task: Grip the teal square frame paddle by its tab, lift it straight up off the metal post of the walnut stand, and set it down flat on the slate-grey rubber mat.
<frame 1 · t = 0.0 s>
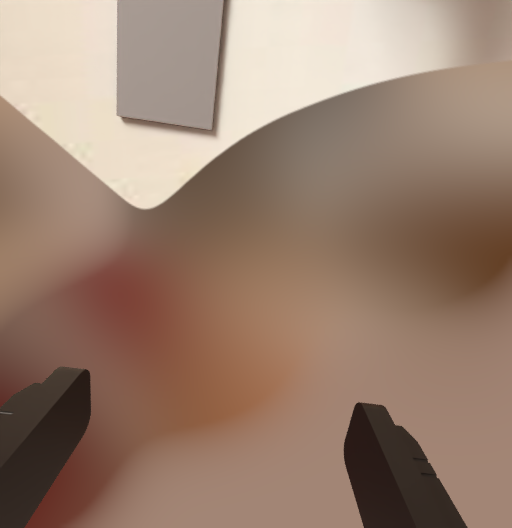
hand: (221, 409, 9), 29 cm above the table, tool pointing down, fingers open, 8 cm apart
mat: (169, 48, 32), on the table
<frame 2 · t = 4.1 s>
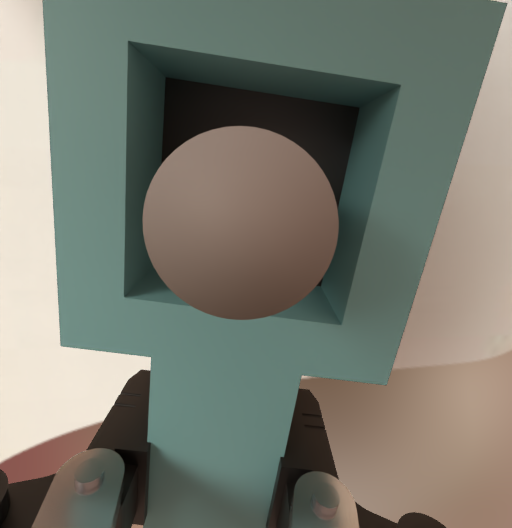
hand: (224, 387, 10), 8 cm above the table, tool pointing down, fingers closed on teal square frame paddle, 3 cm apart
stand: (253, 177, 16), on the table
teal square frame paddle: (250, 191, 7), point 9 cm above the table, touching gripper, stand
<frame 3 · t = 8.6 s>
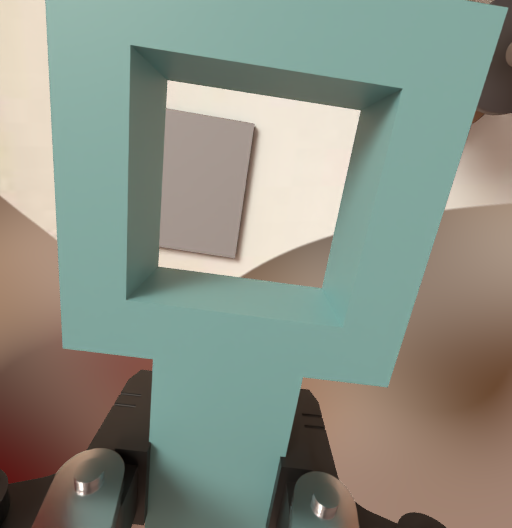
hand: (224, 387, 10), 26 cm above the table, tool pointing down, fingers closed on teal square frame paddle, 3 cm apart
mat: (197, 187, 33), on the table
stand: (445, 82, 30), on the table
teal square frame paddle: (252, 194, 7), point 27 cm above the table, touching gripper
when the fingers open (2 cm above the table, at t = 13.3 s): teal square frame paddle drops 2 cm, resting on mat.
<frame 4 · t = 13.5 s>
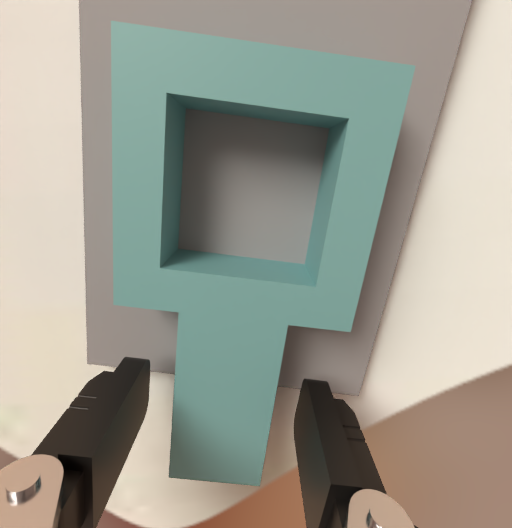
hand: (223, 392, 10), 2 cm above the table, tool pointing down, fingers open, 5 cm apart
mat: (251, 184, 10), on the table
teal square frame paddle: (249, 191, 10), point 1 cm above the table, touching mat
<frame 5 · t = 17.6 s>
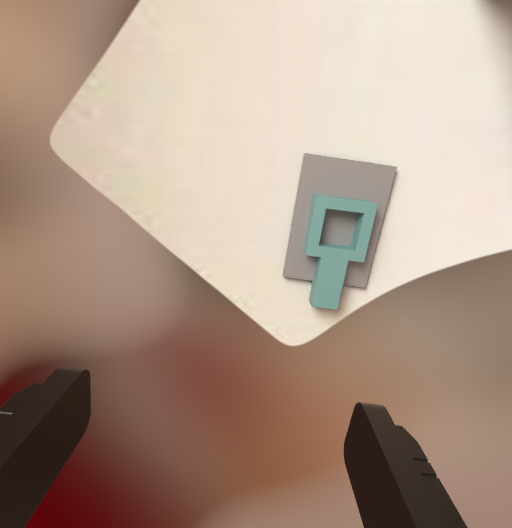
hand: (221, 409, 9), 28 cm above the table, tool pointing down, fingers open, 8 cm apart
mat: (335, 223, 36), on the table
teal square frame paddle: (336, 226, 36), point 1 cm above the table, touching mat
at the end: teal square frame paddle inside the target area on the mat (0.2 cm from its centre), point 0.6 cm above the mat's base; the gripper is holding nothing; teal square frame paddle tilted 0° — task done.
